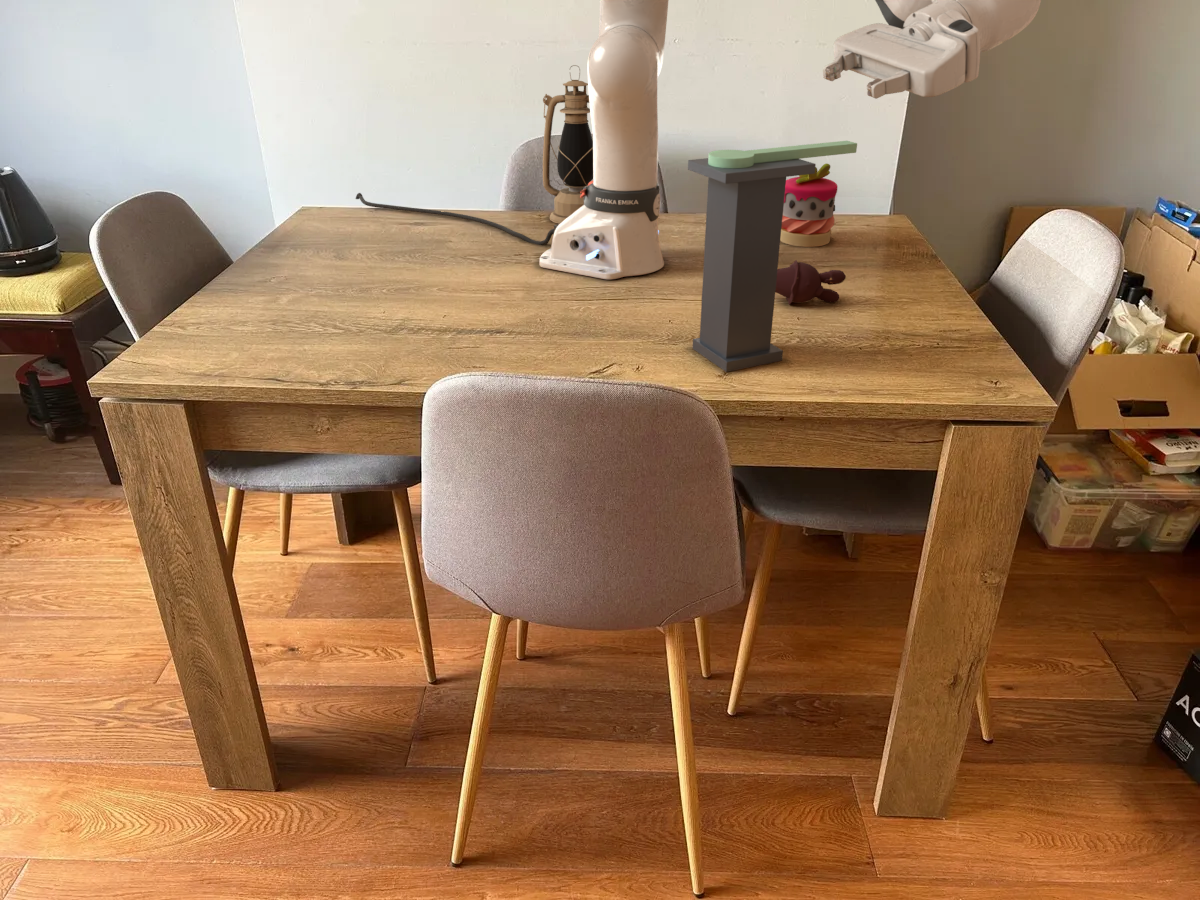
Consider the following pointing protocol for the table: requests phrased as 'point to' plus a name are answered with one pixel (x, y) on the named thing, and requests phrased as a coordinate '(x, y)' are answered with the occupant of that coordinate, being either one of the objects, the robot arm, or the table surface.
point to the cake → (809, 209)
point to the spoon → (777, 154)
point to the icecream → (807, 283)
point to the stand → (742, 260)
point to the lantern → (569, 150)
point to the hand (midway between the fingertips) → (847, 83)
